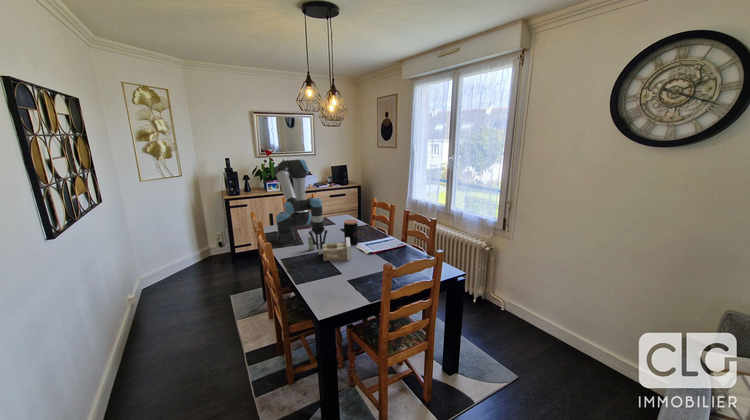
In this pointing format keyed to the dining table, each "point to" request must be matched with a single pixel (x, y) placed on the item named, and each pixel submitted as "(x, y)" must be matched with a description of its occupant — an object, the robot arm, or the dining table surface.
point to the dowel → (311, 244)
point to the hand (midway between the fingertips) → (319, 253)
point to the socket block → (334, 251)
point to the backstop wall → (348, 248)
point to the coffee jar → (351, 231)
